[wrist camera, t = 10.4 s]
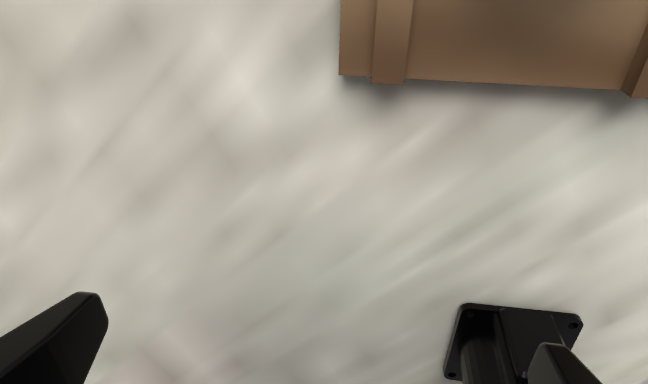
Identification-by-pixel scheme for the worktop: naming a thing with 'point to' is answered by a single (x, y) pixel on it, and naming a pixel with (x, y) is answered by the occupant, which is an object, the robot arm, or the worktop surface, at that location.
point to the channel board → (499, 42)
